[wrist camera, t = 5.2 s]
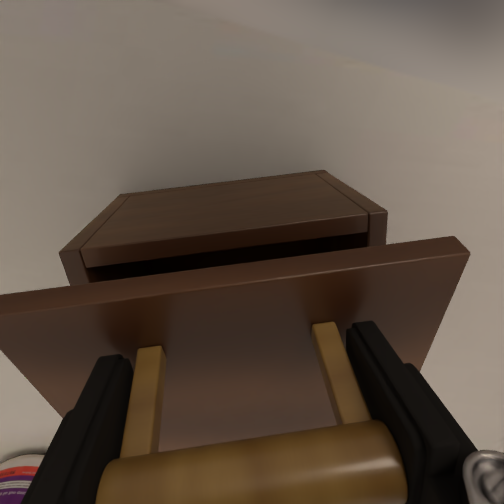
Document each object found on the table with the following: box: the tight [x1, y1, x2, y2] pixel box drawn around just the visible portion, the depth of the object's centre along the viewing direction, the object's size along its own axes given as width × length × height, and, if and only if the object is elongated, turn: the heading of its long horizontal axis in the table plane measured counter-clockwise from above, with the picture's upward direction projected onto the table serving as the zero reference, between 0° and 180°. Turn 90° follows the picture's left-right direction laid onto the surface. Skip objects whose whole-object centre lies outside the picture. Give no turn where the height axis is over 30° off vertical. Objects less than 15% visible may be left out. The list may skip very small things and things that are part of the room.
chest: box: [59, 170, 388, 286], centre depth 20 cm, size 14×13×9 cm
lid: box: [0, 236, 470, 504], centre depth 12 cm, size 14×13×5 cm
